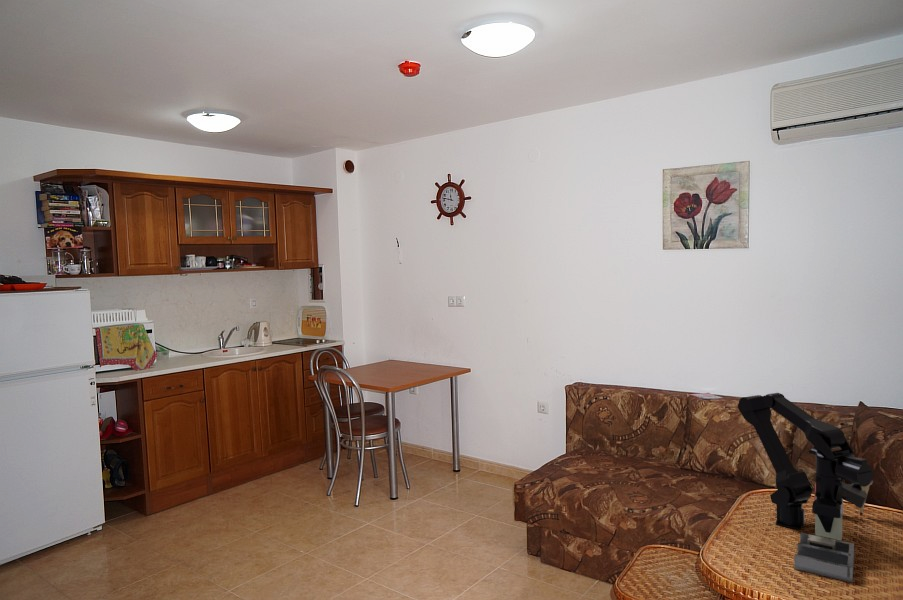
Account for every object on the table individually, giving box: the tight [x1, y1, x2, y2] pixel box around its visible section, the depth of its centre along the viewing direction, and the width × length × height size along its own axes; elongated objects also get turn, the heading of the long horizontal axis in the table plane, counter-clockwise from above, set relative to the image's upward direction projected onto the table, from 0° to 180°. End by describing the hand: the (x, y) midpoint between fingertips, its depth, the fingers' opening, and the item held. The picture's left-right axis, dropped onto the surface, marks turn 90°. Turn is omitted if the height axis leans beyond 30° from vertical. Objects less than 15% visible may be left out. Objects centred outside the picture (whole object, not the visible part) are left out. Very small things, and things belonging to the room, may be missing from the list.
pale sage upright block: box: [814, 514, 843, 541], centre depth 158 cm, size 6×4×6 cm, turn 54°
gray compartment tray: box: [793, 532, 855, 583], centre depth 148 cm, size 12×14×4 cm
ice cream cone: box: [858, 479, 874, 517], centre depth 172 cm, size 6×6×15 cm
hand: (828, 529), depth 159 cm, fingers closed on pale sage upright block, 4 cm apart
